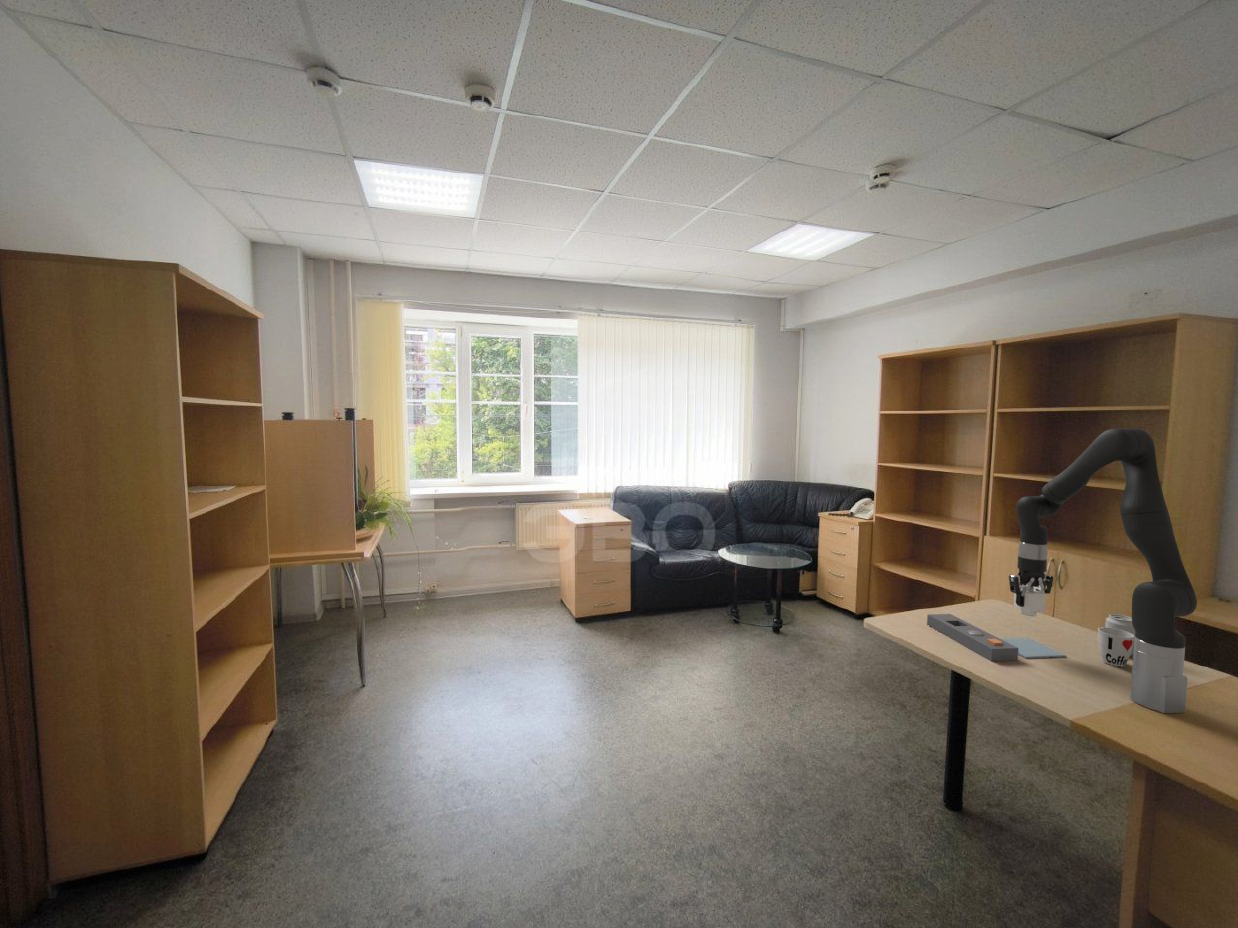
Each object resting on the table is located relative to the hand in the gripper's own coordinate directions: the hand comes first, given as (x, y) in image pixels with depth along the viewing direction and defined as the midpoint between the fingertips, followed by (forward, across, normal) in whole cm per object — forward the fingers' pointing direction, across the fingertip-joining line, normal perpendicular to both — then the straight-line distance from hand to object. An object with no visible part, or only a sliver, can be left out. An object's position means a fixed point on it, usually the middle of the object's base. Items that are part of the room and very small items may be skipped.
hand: (1029, 605), depth 170 cm
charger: (+3, 0, 0) cm, 3 cm away
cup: (+15, +18, -12) cm, 26 cm away
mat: (+15, 0, 0) cm, 15 cm away
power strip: (+15, -15, +7) cm, 22 cm away
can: (+15, +28, -5) cm, 32 cm away
